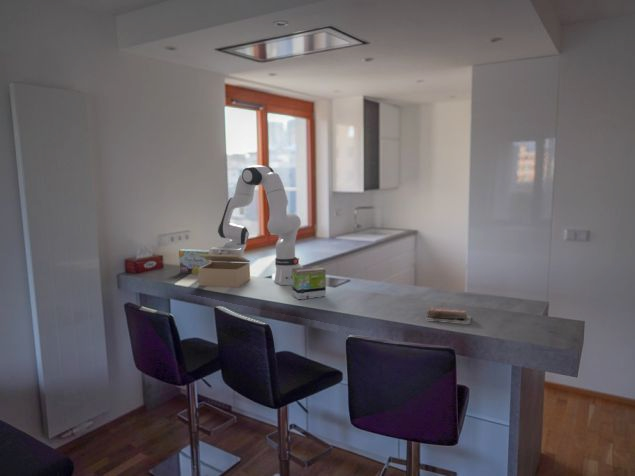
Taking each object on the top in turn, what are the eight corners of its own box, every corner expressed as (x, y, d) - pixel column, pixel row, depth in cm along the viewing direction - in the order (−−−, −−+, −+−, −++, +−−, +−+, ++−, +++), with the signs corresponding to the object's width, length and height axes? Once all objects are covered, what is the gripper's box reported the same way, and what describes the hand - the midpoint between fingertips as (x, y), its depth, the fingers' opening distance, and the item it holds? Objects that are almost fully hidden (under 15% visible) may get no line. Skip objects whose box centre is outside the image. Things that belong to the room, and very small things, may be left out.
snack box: (179, 273, 300) (178, 250, 298) (184, 271, 306) (183, 248, 303) (209, 274, 294) (207, 251, 292) (213, 272, 299) (212, 249, 297)
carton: (250, 279, 280) (249, 263, 278) (238, 287, 262) (237, 269, 261) (213, 277, 285) (212, 261, 284) (199, 285, 268) (198, 268, 266)
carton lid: (250, 262, 278) (250, 260, 279) (237, 256, 261) (238, 254, 261) (212, 261, 284) (212, 259, 284) (198, 255, 267) (198, 253, 267)
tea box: (298, 300, 234) (297, 271, 232) (292, 295, 243) (291, 267, 241) (326, 297, 239) (325, 268, 237) (319, 292, 249) (318, 265, 246)
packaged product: (426, 311, 199) (428, 304, 208) (425, 322, 200) (428, 315, 209) (470, 314, 193) (471, 307, 202) (470, 326, 194) (470, 318, 203)
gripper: (214, 243, 283) (203, 247, 270) (246, 244, 278) (236, 248, 265) (215, 253, 284) (204, 258, 271) (246, 255, 279) (237, 259, 266)
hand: (220, 253), depth 267 cm, fingers closed, pressing on carton lid
